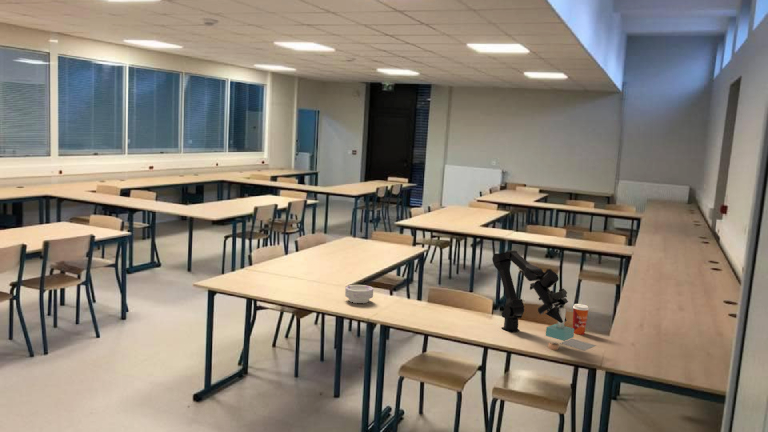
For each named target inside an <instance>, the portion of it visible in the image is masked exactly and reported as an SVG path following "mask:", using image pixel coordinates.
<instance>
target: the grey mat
mask: <svg viewBox="0 0 768 432" xmlns="http://www.w3.org/2000/svg"><path fill="white" fill-rule="evenodd" d="M560 344H561V345H564V346H566V347H567V346H568V347H570V348H573V349H577V350H581V351H587V350H589V349H591V348H594V347H596V346H597V345H596V344H593V343H589V342H585V341H582V340H579V339H575V338H570V339H568V340H566V341H562V342H560V343H559V345H560Z"/></svg>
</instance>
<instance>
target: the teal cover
mask: <svg viewBox="0 0 768 432" xmlns="http://www.w3.org/2000/svg"><path fill="white" fill-rule="evenodd" d="M566 311H567V308H565V307H564V308H559V315H560V317H561V318H562V320H563V322H562V323H560V322H558V321H557V323H555V324H551V325H549V326H546V329H545V336H546V337H549V338H552V339H555V340H559V341H562V342H564V341H567V340H570V339H574V334H575V333H574V328H573V327H569V326H566V325H565V323H566V322H565V317H566Z"/></svg>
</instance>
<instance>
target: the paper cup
mask: <svg viewBox="0 0 768 432" xmlns="http://www.w3.org/2000/svg"><path fill="white" fill-rule="evenodd" d="M572 308H573V310H572V328H574V334H575V335H580V336H581V335H585V331H586V326H587V321H588V314H589V311H590V308H589V306H588V305H586V304H582V303H574V304H573V306H572Z"/></svg>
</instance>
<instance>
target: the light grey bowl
mask: <svg viewBox="0 0 768 432" xmlns="http://www.w3.org/2000/svg"><path fill="white" fill-rule="evenodd" d="M344 292H345V293H344V295H345V297H346V298H348V300H349V302H350V303H352V302H353V304H357V303H363V304H367V303H368V302H369V301H370V299H372V298H373V297H374V288H373V287H372V286H370V285H366V284H350V285H348V286H347V285H346V286H345V291H344Z"/></svg>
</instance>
